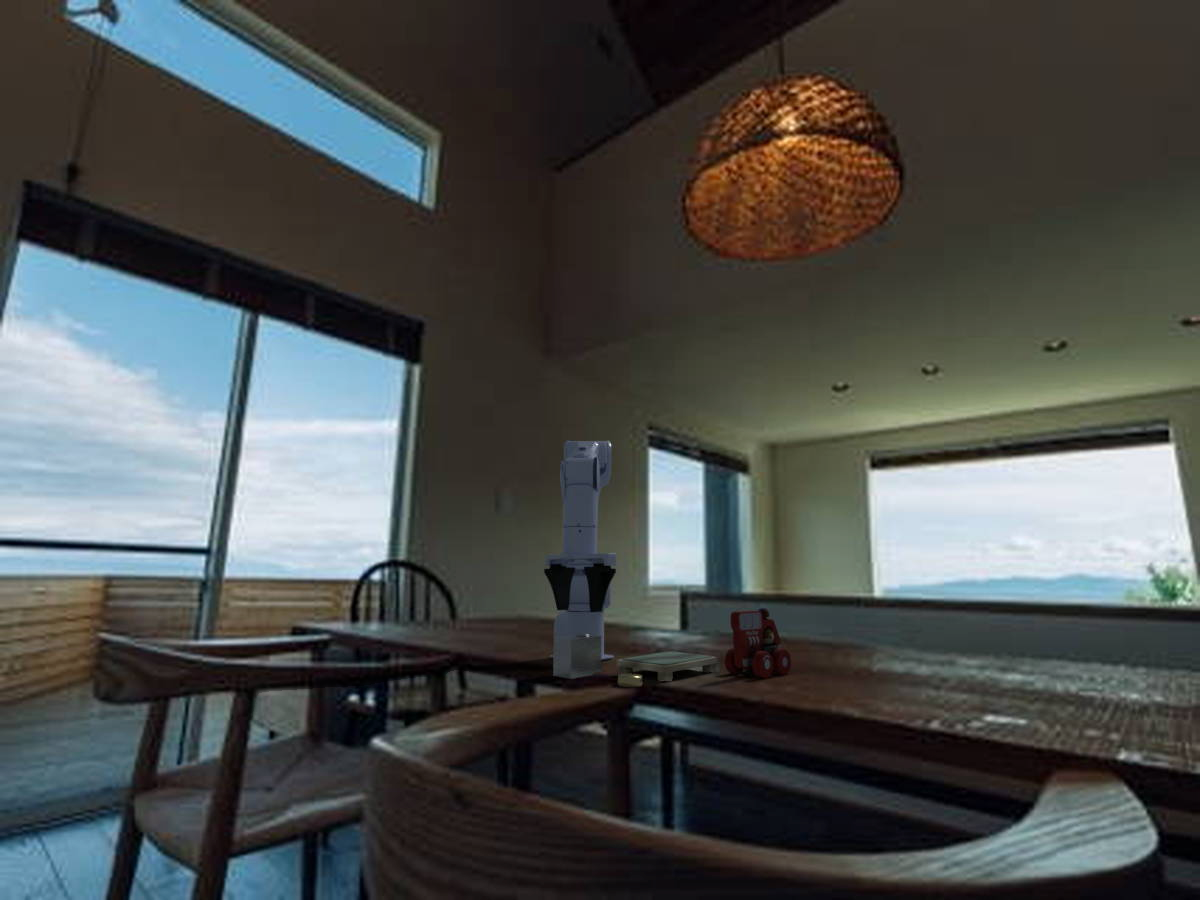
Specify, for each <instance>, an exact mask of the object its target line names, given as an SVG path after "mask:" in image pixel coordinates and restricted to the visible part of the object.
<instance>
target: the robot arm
mask: <svg viewBox="0 0 1200 900" xmlns="http://www.w3.org/2000/svg"><path fill="white" fill-rule="evenodd" d="M563 445H564V446H563V460H561V462H560V470H559V471H560V473H559V475H560V476H559V477H560V479H559V480H560V487H561V500H562V503H563V505H562V553H558V554H546V555H545V560H544V561H545V564H544V566H545V567H548V568H544V570H543V572H544V573H543V574H544V575H545V576H546V578H547V580H548V582H549V585H550V586H551V590H552V593H553V597H554V602H555V605H556V611H560V612H558V614H557V615H556V616H555V618H554V623H553V638H554V637H563V636H572V635H576V634H590V635H597V636H601V661H603V660H609V659H614V658H615V656H614V655H613V654H605V609H608V608H609V607H610V606H611V605H612V604H611V603H612V602H611V599H612V586H611V585H612V580H613V578H614V577H615V575H616V573H617V569H616V568H612V567H613V566H617V553H608V552H607V553H598V528H599V527H598V523H599V522H598V521H599V519H598V518H599V517H598V516H599V513H598V511H599V498H600V496H601V495H600V494H601V491H602V488H604V487H605V486H607V485H608V484H610V479H611V478H612V477H611V475H612V472H611V471H612V443H611V441H610V440H609V439H608V440H589V441H588V440H585V441H583V440H577V441H574V440H573V441H571V440H566V441H565V443H564V444H563ZM549 657H550V658H551V659H553V654H550V656H549Z"/></svg>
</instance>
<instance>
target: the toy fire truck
mask: <svg viewBox="0 0 1200 900" xmlns="http://www.w3.org/2000/svg"><path fill="white" fill-rule="evenodd" d="M730 628H731V630H732V635H733V636H732V639H733V641H732V642H733V647H732V648H730V649H728V650H727V651H726V654H725V657H724V666H725V669H726V671H727V672H728V673H729V674H731V675H740V674H742V673H743V672H744V671H752V672H753V674H754V675H755V676H756V677H757V678H759V679H768V678H770V677H771V676H772V675H773V673H774V674H776V675H781V676H785V675H788V674H789V673H790V671H791V667H792V660H791V654H790V653H789V651H788V650H787V649H784V648H782V641H781V637H780V635H779V631H778V629H777V626H776V623H775V620H774V619H773V618H770V612H769V610H768V609H767V608H764V607H761V608H759V609H758V610H739V611H738V610H737V611H732V612H731V614H730Z"/></svg>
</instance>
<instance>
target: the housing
mask: <svg viewBox="0 0 1200 900" xmlns="http://www.w3.org/2000/svg"><path fill="white" fill-rule="evenodd" d="M552 655H553V658H552V660H553V668H552V669H553V670H552V671H553V672H552V673H553V674H552V676H553V677H558V678H564V679H568V680H569V679H570V680H572V679H577V678H578V679H579V678H584V677H591V676H594V675H593V674H594V673H597V672H601V673H602V660H601V636H597V635H590V634H576V635H572V636H563V637H554V636H553V654H552Z"/></svg>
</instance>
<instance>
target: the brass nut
mask: <svg viewBox="0 0 1200 900" xmlns="http://www.w3.org/2000/svg"><path fill="white" fill-rule="evenodd" d="M617 686H619V687H624V688H637V687H639V688H640V687H642V686H643V675H642V674H638V673H633V674H620V675H619V674H618V675H617Z"/></svg>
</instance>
